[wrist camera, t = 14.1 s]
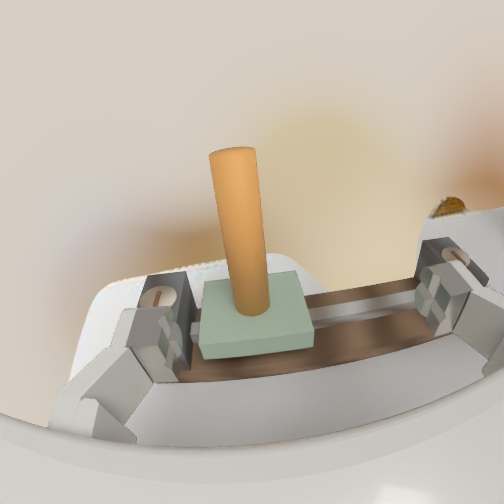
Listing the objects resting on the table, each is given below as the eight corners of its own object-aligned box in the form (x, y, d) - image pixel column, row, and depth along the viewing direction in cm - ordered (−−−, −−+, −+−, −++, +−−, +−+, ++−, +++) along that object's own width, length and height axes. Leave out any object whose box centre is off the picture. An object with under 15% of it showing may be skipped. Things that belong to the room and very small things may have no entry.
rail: (434, 284, 31) (449, 233, 27) (466, 328, 24) (490, 274, 20) (167, 324, 31) (146, 271, 27) (156, 383, 24) (125, 331, 20)
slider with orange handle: (296, 286, 29) (289, 135, 21) (313, 346, 23) (317, 160, 14) (208, 296, 29) (175, 150, 21) (204, 359, 23) (148, 182, 14)
